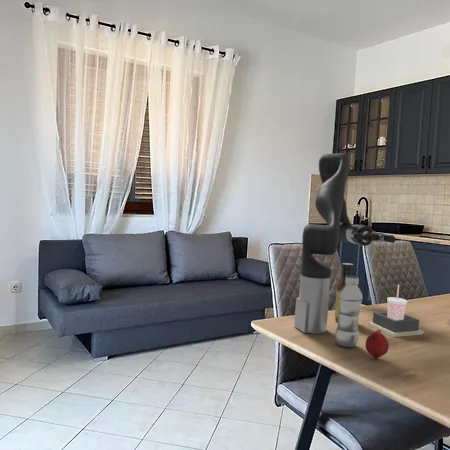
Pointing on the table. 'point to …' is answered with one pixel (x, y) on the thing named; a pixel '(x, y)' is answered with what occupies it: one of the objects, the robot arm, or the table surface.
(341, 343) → the plastic bottle
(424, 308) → the table surface
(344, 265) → the sauce bottle
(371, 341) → the onion
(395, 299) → the beverage cup
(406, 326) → the grey tray on board
